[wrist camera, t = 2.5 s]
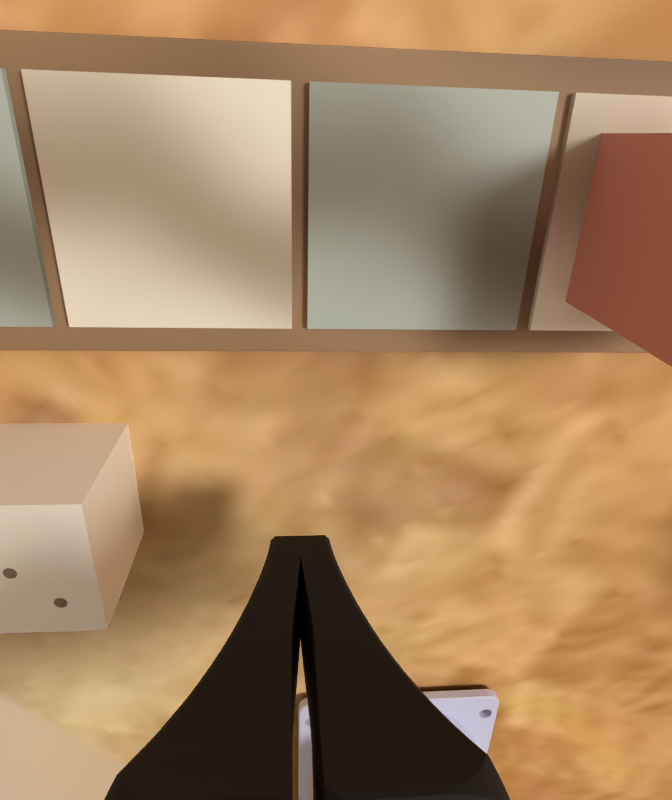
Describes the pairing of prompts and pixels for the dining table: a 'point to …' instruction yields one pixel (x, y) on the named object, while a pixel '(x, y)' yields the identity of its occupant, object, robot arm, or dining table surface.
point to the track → (301, 194)
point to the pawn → (628, 242)
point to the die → (65, 525)
